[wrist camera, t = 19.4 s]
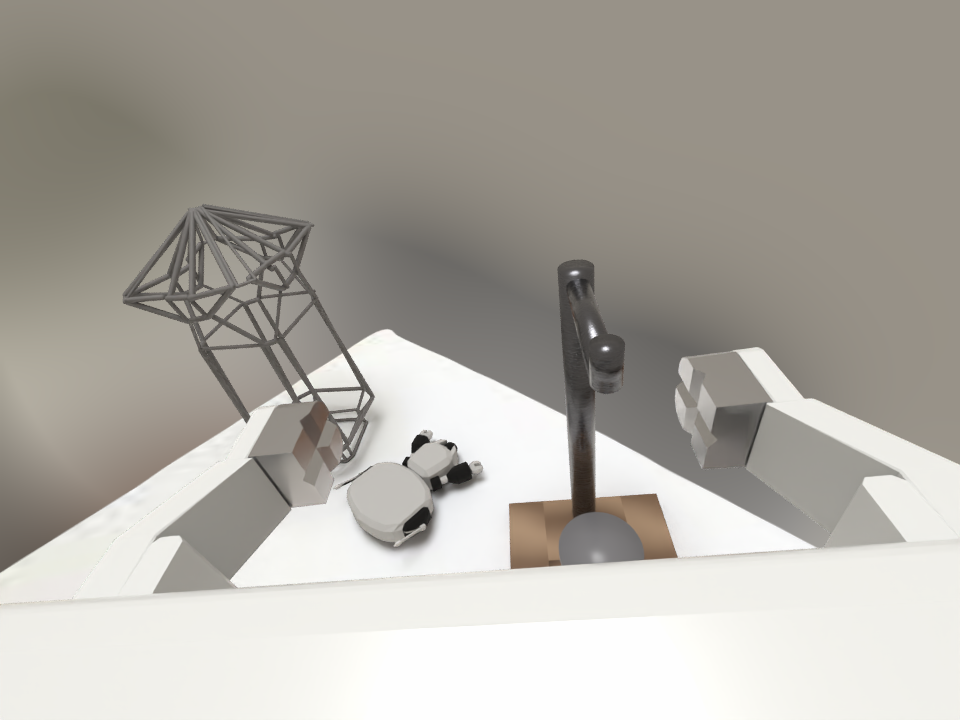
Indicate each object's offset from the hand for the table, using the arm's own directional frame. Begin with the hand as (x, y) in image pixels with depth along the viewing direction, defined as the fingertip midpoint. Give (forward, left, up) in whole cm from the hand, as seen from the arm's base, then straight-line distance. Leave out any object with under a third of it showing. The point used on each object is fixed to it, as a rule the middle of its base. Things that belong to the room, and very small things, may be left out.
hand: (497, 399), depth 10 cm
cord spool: (+12, 0, -37) cm, 39 cm away
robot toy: (+18, +23, -38) cm, 48 cm away
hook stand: (+15, +1, -36) cm, 39 cm away
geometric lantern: (+23, +41, -38) cm, 60 cm away
